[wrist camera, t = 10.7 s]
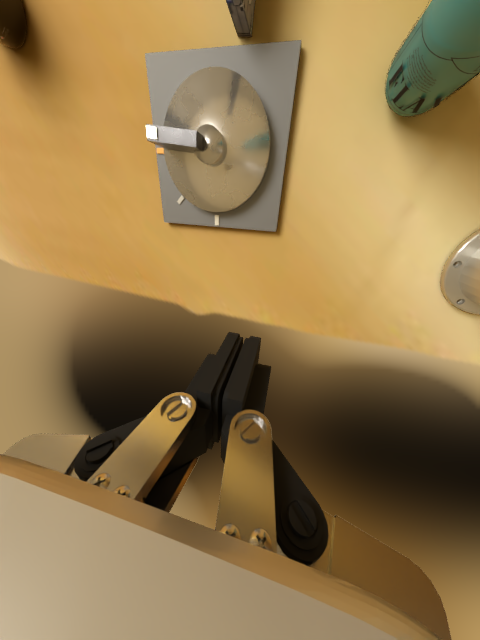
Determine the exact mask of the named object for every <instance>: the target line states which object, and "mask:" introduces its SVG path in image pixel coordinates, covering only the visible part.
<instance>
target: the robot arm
mask: <svg viewBox="0 0 480 640" xmlns="http://www.w3.org/2000/svg"><path fill="white" fill-rule="evenodd" d="M440 285H441V290H442V293H443V295H444V297H445V298H446V299H447V300H448V302H449V303H451V304H452V305H454V306H455V307H457V308H459V309H461V310H462V311H465V312H468V313H472V314H478V315H480V229H479V230H477V231H476V232H475V233H473V234H472V235H470V236H469V237H468V238H466V239H465V240H464V241H463V242H462V243H461V244H460V245H459V246H458V247H457V248H456V249H455V250H454V251H453V253H452V254H451V255H450V256H449V258H448V260H447V261H446V263H445V265H444V268H443V270H442V273H441V279H440ZM260 342H261V338H259V337H253V336H250V338H246V339H245V341H244V344H243V337H240V335H239V334H237V333H232V332H229V333H228V334H227V336H226V338H225V340H224V341H223V343H222V345H221V347H220V349H219V350H218V352H217V354H216V355H214V354H208V355H207V357H206V358H205V360H204V362H203V363H202V365H201V367H200V368H199V370H198V372H197V373H196V375H195V376H194V378H193V380H192V381H191V383H190V384H189V386H188V388H187V389H186V391H185V393H183V392H181V393H179V392H178V393H174V394H170V395H168V396H166V397H165V398H164V399H163V400H161V401H160V403H159V404H158V405H157V406H156V407H155V408H154V409H153V410H152V411H151V412H150V413H149V414H148V415H147V416H145V417H142V418H140V419H137V420H135V421H132V422H130V423H127V424H125V425H123V426H120V427H118V428H115V429H112V430H110V431H108V432H105V433H103V434H100V435H98V436H96V437H94V438H91V437H90V435H68V434H34V435H31V436H28V437H26V438H23V439H22V440H20V441H19V442H17V443H15V444H14V445H13V446H12V447H10V448H9V449H8V450H7V451H6V452H5V453H4V454H0V640H451V635H450V631H449V626H448V622H447V616H446V613H445V610H444V607H443V604H442V601H441V598H440V596H439V594H438V593H437V591H436V589H435V587H434V585H433V584H432V582H431V580H430V579H429V578H428V577H427V575H426V574H425V573H424V572H423V571H422V569H420V567H419V566H417V565H416V564H415V563H413V562H412V561H411V560H410V559H409V558H407V557H405V556H404V555H402V554H400V553H399V552H397V551H395V550H394V549H392V548H390V547H389V546H387V545H385V544H383V543H382V542H380V541H379V540H377V539H375V538H374V537H372V536H370V535H369V534H367V533H365V532H364V531H362V530H360V529H359V528H357V527H355V526H354V525H352V524H350V523H349V522H347V521H345V520H344V519H342V518H340V517H338V516H337V515H335V516H334V517H333V516H332V515H330V514H328V513H327V512H325V511H324V510H322V509H321V507H320V505H319V504H318V502H317V501H316V500H315V498H314V497H313V496H312V494H311V493H310V491H309V490H308V489H307V487H306V486H305V484H304V483H303V482H302V480H301V479H300V478H299V476H298V475H297V473H296V472H295V470H294V469H293V468H292V466H291V465H290V463H289V462H288V461H287V459H286V458H285V457H284V455H283V454H282V452H281V451H280V450H279V448H278V447H277V445H276V444H275V443H274V441H273V440H272V431H271V425H270V423H269V421H268V419H267V418H266V417H265V416H264V415H263V414H264V408H265V402H266V396H267V390H268V383H269V377H270V371H271V366H267V365H262V364H258V359H259V351H260ZM220 437H221V458H222V460H223V462H224V464H225V465H224V472H223V479H222V486H221V492H220V500H219V506H218V513H217V520H216V527H215V530H213V529H211V528H208V527H205V526H203V525H200V524H197V523H195V522H192V521H189V520H187V519H184V518H181V517H179V516H176V515H173V514H171V513H169V512H170V510H171V508H172V507H173V505H174V503H175V501H176V499H177V498H178V496H179V494H180V492H181V490H182V489H183V487H184V485H185V483H186V481H187V479H188V477H189V475H190V474H191V472H192V470H193V468H194V466H195V465H196V463H197V461H198V458H199V456H200V455H202V454H204V453H206V451H207V448H209V449H212V447H213V444H214V442H219V440H220Z"/></svg>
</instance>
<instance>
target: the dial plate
mask: <svg viewBox="0 0 480 640" xmlns="http://www.w3.org/2000/svg"><path fill="white" fill-rule="evenodd" d="M300 51H301V40H297V41H285V42H273V43H262V44H250V45H238V46H227V47H215V48H203V49H192V50H180V51H168V52H156V53H145V58H146V67H147V76H148V84H149V93H150V102H151V111H152V119H153V125H157V126H164V121H165V116H166V113H167V109H168V106H169V104H170V101H171V99H172V97H173V95H174V94H175V92H176V90H177V89H178V87H179V86H180V85H181V84H182V82H183V81H184V80H186V79H187V78H188V77H189V76H190V75H192V74H193V73H195V72H196V71H199V70H201V69H203V68H208V67H224V68H228V69H230V70H233V71H235V72H237V73H238V74H240V75H241V76H242V77H244V78H245V79H246V80H247V81H248V82H249V83H250V84H251V86H252V87H253V88H254V89H255V91H256V93H257V94H258V96H259V98H260V100H261V102H262V105H263V107H264V110H265V113H266V116H267V120H268V124H269V129H270V156H269V161H268V166H267V169H266V172H265V175H264V178H263V180H262V182H261V184H260V186H259V187H258V189H257V190H256V192H255V193H254V194H253V195H252V197H251V198H250V199H249V200H248V201H246V202H245V203H244V204H242V205H241V206H239V207H237V208H235V209H233V210H230V211H225V212H210V211H206V210H203V209H200V208H198V207H196V206H195V205H193V204H192V203H190V202H189V201H188V200H187V199H186V198H185V197H184V196H183V195H182V194H181V193H180V192H179V190H178V189H177V187H176V186H175V184H174V182H173V180H172V178H171V176H170V174H169V171H168V168H167V165H166V161H165V156H164V149H163V147H160V146H158V145H156V144H155V145H156V154H157V163H158V172H159V180H160V189H161V198H162V207H163V215H164V222H168V223H180V224H191V225H203V226H215V227H226V228H238V229H250V230H262V231H273V232H276V231H277V224H278V216H279V209H280V201H281V194H282V186H283V179H284V171H285V164H286V156H287V148H288V141H289V133H290V126H291V118H292V111H293V103H294V96H295V88H296V81H297V73H298V66H299V58H300Z"/></svg>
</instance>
